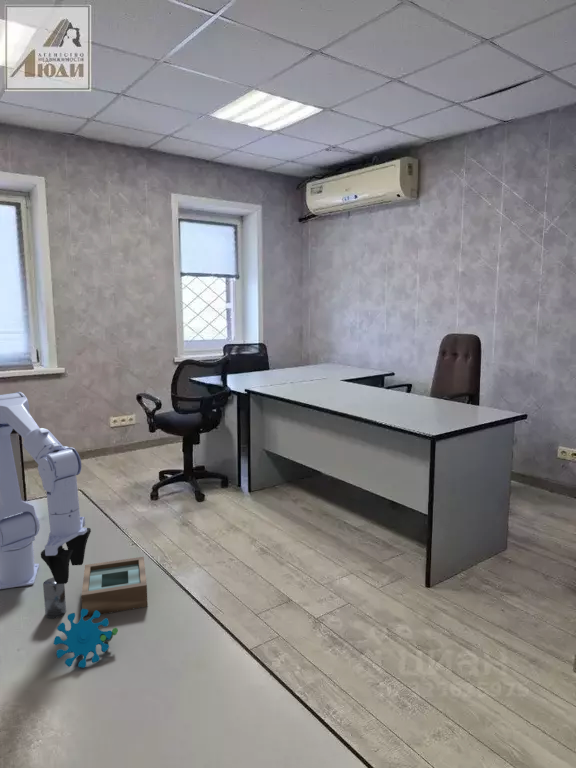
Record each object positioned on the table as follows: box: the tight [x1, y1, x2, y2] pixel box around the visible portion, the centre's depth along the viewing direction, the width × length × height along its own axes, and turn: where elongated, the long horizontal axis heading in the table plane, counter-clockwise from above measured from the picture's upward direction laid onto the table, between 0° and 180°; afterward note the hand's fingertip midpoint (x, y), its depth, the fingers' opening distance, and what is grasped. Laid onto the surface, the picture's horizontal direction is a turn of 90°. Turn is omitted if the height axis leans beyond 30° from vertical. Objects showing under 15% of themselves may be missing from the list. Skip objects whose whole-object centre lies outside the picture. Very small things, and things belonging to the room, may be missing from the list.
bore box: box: [81, 556, 148, 618], centre depth 115 cm, size 13×13×5 cm
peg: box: [42, 576, 67, 620], centre depth 108 cm, size 4×4×7 cm
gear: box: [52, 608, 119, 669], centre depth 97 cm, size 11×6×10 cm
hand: (70, 573), depth 106 cm, fingers open, 7 cm apart
